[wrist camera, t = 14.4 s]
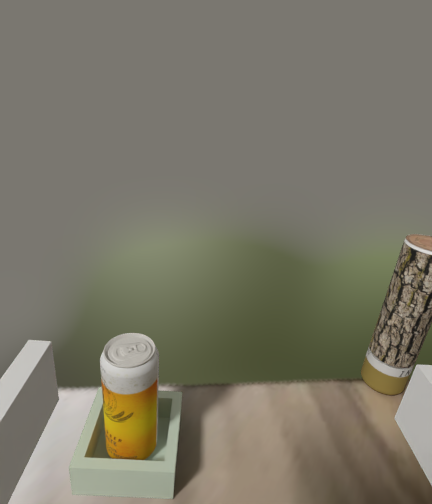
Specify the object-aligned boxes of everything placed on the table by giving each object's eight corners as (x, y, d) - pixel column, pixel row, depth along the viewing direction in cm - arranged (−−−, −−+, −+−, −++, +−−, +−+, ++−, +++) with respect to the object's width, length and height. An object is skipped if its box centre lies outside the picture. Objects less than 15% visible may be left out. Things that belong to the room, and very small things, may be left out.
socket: (180, 416, 50) (182, 391, 48) (173, 498, 40) (174, 472, 38) (100, 411, 49) (99, 387, 47) (72, 494, 39) (68, 467, 37)
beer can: (102, 432, 45) (95, 336, 39) (150, 418, 48) (150, 326, 41) (110, 477, 40) (104, 375, 34) (163, 458, 43) (166, 361, 36)
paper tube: (357, 385, 58) (404, 244, 47) (362, 361, 63) (406, 230, 53) (402, 404, 55) (463, 258, 45) (404, 377, 61) (458, 242, 50)
